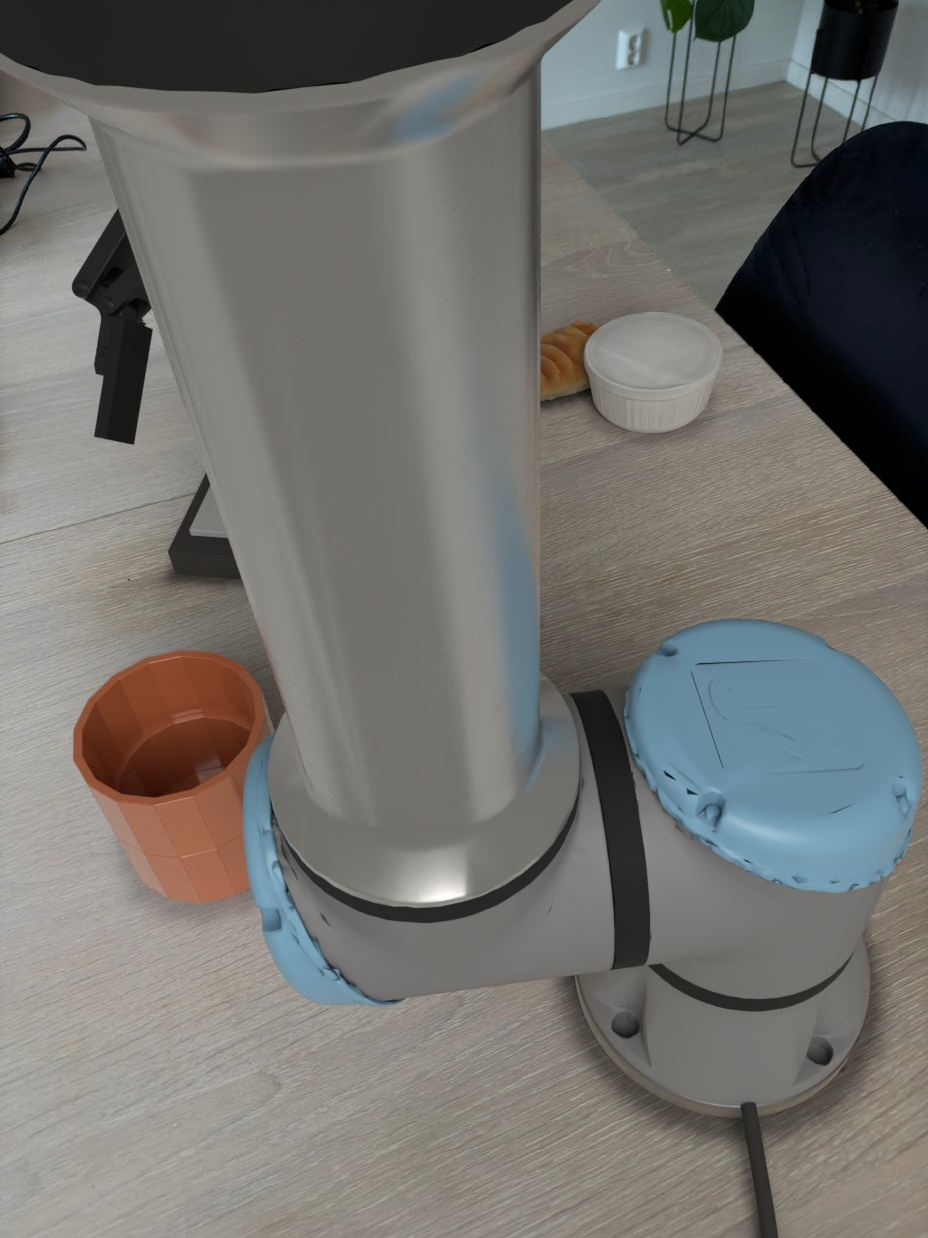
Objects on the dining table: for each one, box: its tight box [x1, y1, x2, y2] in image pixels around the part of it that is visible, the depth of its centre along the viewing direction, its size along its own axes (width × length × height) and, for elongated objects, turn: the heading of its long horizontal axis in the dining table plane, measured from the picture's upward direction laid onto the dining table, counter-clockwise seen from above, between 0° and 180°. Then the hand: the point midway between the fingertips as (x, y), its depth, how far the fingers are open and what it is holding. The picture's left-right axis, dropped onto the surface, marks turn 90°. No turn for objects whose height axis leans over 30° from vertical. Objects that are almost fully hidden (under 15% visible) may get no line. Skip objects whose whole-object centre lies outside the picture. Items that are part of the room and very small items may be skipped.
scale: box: [167, 472, 242, 580], centre depth 85 cm, size 16×16×3 cm
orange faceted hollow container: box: [72, 649, 276, 904], centre depth 63 cm, size 10×10×11 cm
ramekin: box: [584, 311, 724, 434], centre depth 91 cm, size 11×11×5 cm
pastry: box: [540, 319, 601, 402], centre depth 94 cm, size 9×7×4 cm
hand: (223, 462), depth 58 cm, fingers open, 13 cm apart
